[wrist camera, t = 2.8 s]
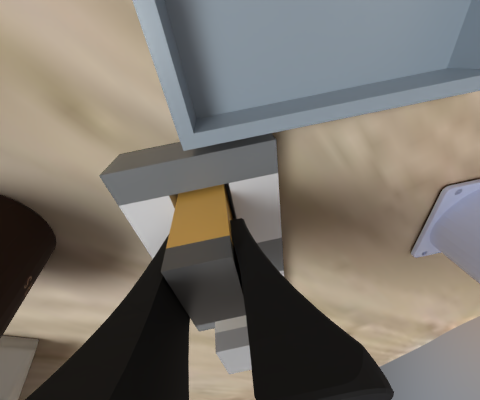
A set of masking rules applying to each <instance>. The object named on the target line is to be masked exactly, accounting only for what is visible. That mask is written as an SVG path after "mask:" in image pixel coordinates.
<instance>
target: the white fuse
mask: <svg viewBox="0 0 480 400" xmlns="http://www.w3.org/2000/svg"><path fill="white" fill-rule="evenodd" d="M215 343H216V354H217V355H218V357H219V359H220V360H221V362H222V363H223V365H224V367H225V368H226V370H227V372H228V373H229V374H233V373H238V372H242V371H247V370H251V369H252V366H251V357H250V347H249V338H248V330H247V321H246V315H245V316H240V317H236V318H231V319H226V320H222V321H217V322H215Z"/></svg>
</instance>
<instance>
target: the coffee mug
mask: <svg viewBox="0 0 480 400" xmlns="http://www.w3.org/2000/svg"><path fill="white" fill-rule="evenodd" d="M55 246H56V239H55V235H54V233H53V230H52V229H51V227H50V226H49V225H48V223H47V222H46V221H45V220H44V219H43V218H42V217H41V216H40V215H38V214H37V213H35V212H34V211H33V210H31V209H30V208H28V207H27V206H25V205H23V204H21V203H19V202H17V201H15V200H13V199H10V198H8V197H6V196H3V195H0V338H1V337H2V335H3V333H4V332H5V330H6V328H7V327H8V325H9V323H10V322H11V320H12V318H13V317H14V315H15V314H16V312H17V310H18V309H19V307H20V305H21V304H22V302H23V300H24V299H25V297H26V295H27V294H28V292H29V291H30V289H31V287H32V286H33V284H34V282H35V281H36V279H37V277H38V276H39V274H40V272H41V271H42V269H43V267H44V266H45V264H46V263H47V261H48V259H49V258H50V256H51V254H52V253H53V251H54V249H55Z"/></svg>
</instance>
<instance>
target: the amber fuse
mask: <svg viewBox="0 0 480 400" xmlns="http://www.w3.org/2000/svg"><path fill="white" fill-rule="evenodd" d="M230 220H233V216H232V212H231V208H230V204H229V199H228V195H227V191H226V187H225V184H222V185H217V186H213V187H208V188H203V189H198V190H193V191H188V192H184V193H179V194H178V198H177V202H176V206H175V211H174V215H173V220H172V224H171V228H170V233H169V237H168V242H167V246H166V250H165V255H164V259H163V264H162V268H161V273H162V275H163V276H164V278H165V279H166V281H167V282H168V284H169V286H170V287H171V289H172V290H173V292H174V293H175V295H176V296H177V298H178V300H179V301H180V303H181V304H182V306H183V307H184V309H185V310H186V312H187V314H188V315H189V317H190V318H191V320H192V321H193V323H194V325H195V326H198V325H203V324H208V323H212V322H217V321H222V320H226V319H231V318H236V317H240V316H245V315H246V312H245V304H244V296H243V288H242V280H241V273H240V268H239V263H238V259H237V255H236V251H235V248H234V244H233V240H232V236H231V226H230Z"/></svg>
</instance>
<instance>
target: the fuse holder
mask: <svg viewBox="0 0 480 400" xmlns="http://www.w3.org/2000/svg"><path fill="white" fill-rule="evenodd" d="M100 178H101V179H102V181H103V182H104V184H105V185H106V187H107V188H108V190H109V192H110V193H111V195H112V196H113V198H114V199H115V201H116V203H117V204H118V206H119V207H120V209H121V210H122V212H123V213H124V215H125V217H126V218H127V220H128V221H129V223H130V224H131V226H132V228H133V229H134V231H135V232H136V234H137V235H138V237H139V239H140V240H141V242H142V243H143V245H144V246H145V248H146V249H147V251H148V253H149V254H150V256H151V257H152V259H153V258H154V256H155V255H156V253H157V252H158V250H159V249H160V247H161V246H162V244H163V242H164V241H165V239H166V238H167V236H168V235H169V233H170V228H171V224H172V220H173V215H174V211H175V206H176V202H177V198H178V194H179V193H184V192H188V191H193V190H198V189H203V188H208V187H213V186H217V185H222V184H225V187H226V191H227V195H228V199H229V204H230V208H231V212H232V216H233V220H234V219H239V218H242V219H244V221H245V224H246V226H247V228H248V230H249V232H250V233H251V235H252V237H253V238H254V240H255V241H256V243H257V244H258V246H259V247H260V249H261V250H262V251H263V253H264V254H265V255H266V257H267V258H268V259H269V260H270V262H271V263H272V264H273V265H274V266H275V267H276V269H277V270H278V271H279V272H280V273H281V274H282V275H283V276H284V265H283V248H282V231H281V214H280V197H279V180H278V163H277V145H276V139H275V138H274V136H273V135H272V134H271V133H269V134H264V135H260V136H255V137H250V138H245V139H240V140H235V141H230V142H225V143H220V144H215V145H211V146H206V147H201V148H196V149H191V150H186V151H183V148H182V145H181V142H178V143H173V144H168V145H163V146H158V147H153V148H148V149H143V150H138V151H134V152H129V153H124V154H119V155H118V156H117V158H116V159H115V160H114V161H113V162H112V163H111V164H110V165H109V166H108V167H107V168H106V169H105V170H104V171H103V172H102V173H101V174H100ZM196 328H197V329H198V331H204V330H208V329H213V328H215V322H212V323H208V324H203V325H198V326H196Z"/></svg>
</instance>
